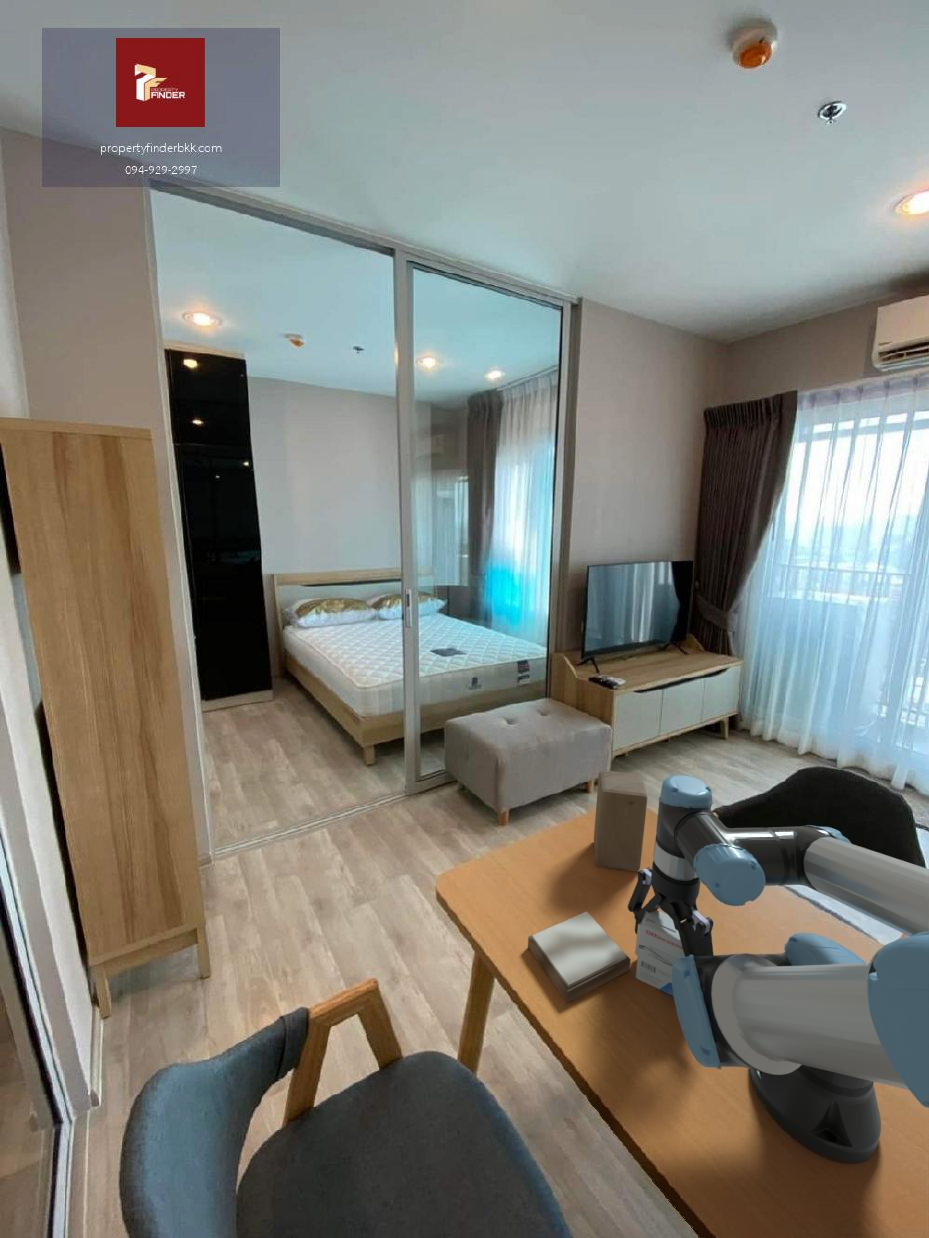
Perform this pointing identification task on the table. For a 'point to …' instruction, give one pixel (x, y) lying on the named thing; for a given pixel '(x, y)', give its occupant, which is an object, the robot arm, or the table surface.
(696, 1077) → the table surface
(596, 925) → the stand
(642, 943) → the ink box
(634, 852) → the wooden block
